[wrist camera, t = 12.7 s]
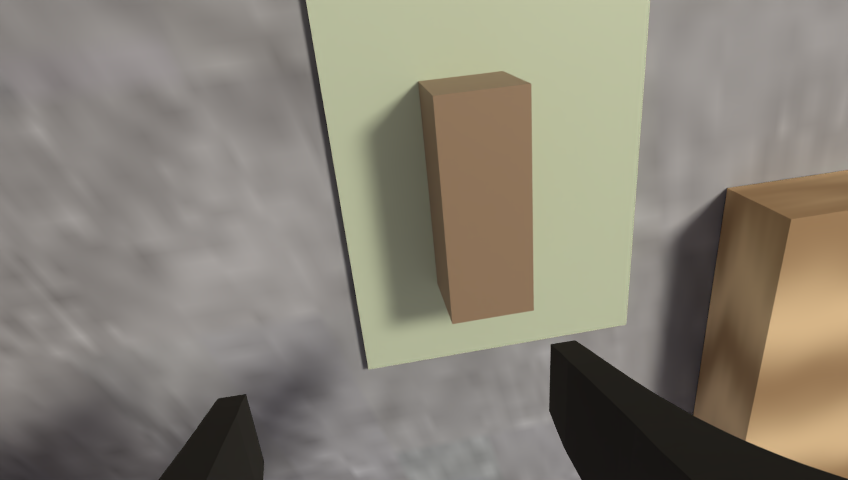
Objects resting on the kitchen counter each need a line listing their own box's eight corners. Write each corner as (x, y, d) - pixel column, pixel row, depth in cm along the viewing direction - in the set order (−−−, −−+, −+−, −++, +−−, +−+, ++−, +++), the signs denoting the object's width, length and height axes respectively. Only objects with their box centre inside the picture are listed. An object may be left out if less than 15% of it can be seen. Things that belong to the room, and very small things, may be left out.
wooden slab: (862, 489, 33) (937, 558, 29) (675, 530, 32) (726, 609, 28) (979, 150, 24) (1111, 181, 20) (727, 188, 23) (813, 230, 19)
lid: (615, 312, 25) (662, 365, 22) (367, 355, 24) (373, 418, 21) (639, -58, 19) (711, -70, 15) (303, -25, 18) (296, -29, 14)
